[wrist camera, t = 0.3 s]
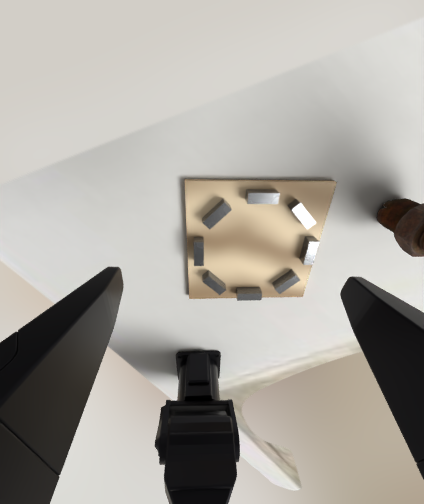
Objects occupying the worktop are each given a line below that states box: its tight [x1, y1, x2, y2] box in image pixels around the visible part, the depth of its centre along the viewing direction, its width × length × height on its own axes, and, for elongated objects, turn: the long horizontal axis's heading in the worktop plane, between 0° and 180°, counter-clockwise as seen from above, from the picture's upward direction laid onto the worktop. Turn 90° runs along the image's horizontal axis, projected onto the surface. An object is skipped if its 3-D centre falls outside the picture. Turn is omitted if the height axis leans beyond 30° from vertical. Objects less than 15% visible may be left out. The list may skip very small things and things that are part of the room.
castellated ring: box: [194, 189, 319, 301], centre depth 24 cm, size 13×13×1 cm
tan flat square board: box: [185, 179, 337, 299], centre depth 25 cm, size 14×14×1 cm
